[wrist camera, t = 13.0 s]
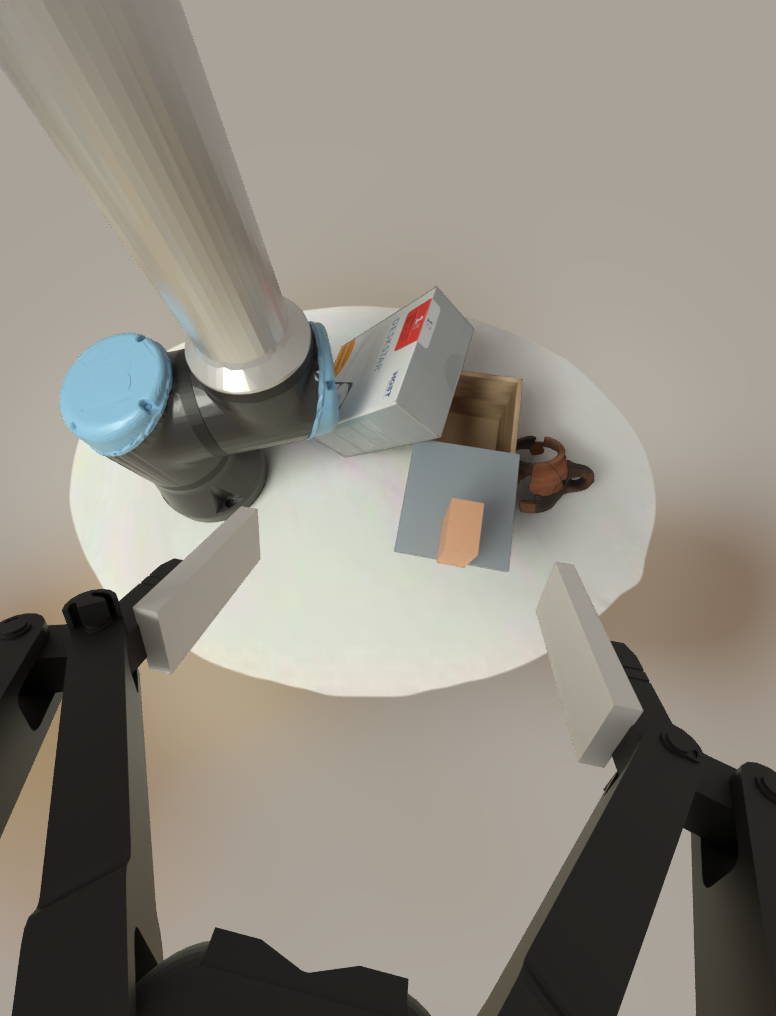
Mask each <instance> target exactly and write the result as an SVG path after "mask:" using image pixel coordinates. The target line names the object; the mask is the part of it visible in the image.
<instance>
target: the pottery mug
mask: <svg viewBox="0 0 776 1016" xmlns="http://www.w3.org/2000/svg"><path fill="white" fill-rule="evenodd" d="M535 440H536V437H534V436H527V437H523V438H520V439H518V440H517V443H516V451H517V450H520V449H529V450H530V452H531V454H532V455H539V454H543V452H544V449H543V446H544V447H548V448H551V449H553V450H555V451H557V452H558V455H557V456H556V457H555V458H554V459H552V460H550V461H548V462H544V463H534V464H532V463H527V462H523V461H521V460H519V470H518V480H517V485H518V484H519V482H520V480H522V479H523V478H524V477H526V476H528V475H530V474H531V479H530V483H529V486H528V488H529V491H530V492H531V493H534V494H535V498H536V501H535V502H530V501H523V500H521V501H520V510H521V511H523V512H527V513H539V512H544V511H547V510H549V509H551V508H552V507H553V506H554V505H555V504H556V502H557V501H558V500H559V499H560V498H561V496H562V495H563V494H566V493H570V492H578V491H582V490H585V489H587V488H588V487H589V486H590V485H591V484H592V483H593V482H594V473H593V471H592V470H591V469H590V468H589V467H587V466H585V465H581V464H576V463H573V462H571V461H570V460H566V455H565V449H564V447H563V445H562V444H561V443H560V442H558V441H557V440H555V439H552V438H550V437H545V438H544V442H535ZM575 477H581V478H580V479H577V480H572V478H575Z"/></svg>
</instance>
